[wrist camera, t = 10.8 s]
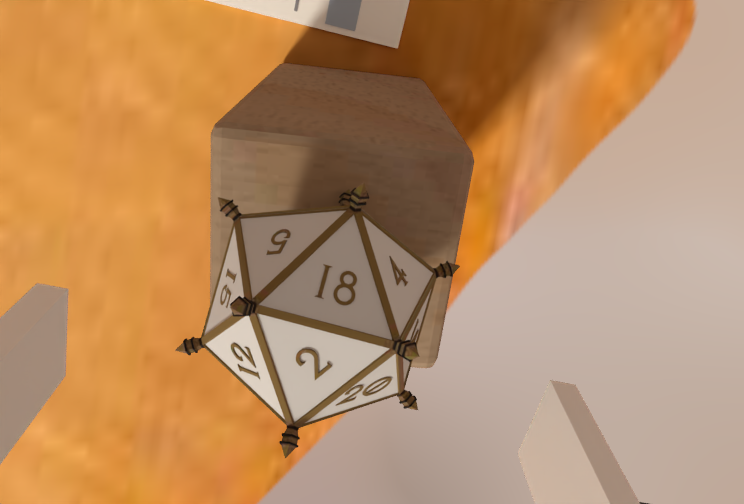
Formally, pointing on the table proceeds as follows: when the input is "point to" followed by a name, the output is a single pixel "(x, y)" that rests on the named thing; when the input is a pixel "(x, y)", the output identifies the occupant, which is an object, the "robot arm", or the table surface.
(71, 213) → the table surface
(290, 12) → the page
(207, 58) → the table surface
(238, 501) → the table surface
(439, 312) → the wooden block
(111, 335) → the table surface
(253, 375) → the game die
